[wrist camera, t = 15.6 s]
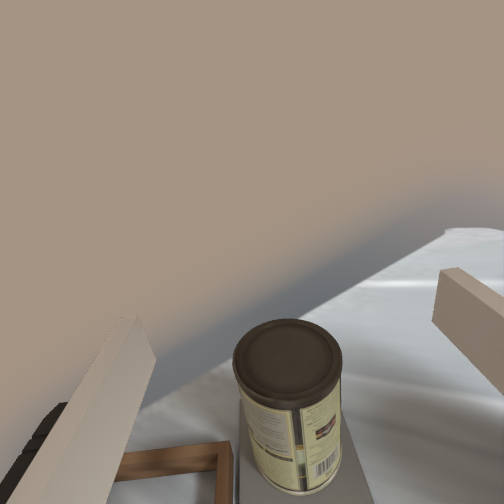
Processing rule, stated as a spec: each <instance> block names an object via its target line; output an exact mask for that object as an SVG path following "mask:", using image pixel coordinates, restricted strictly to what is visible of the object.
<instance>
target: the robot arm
mask: <svg viewBox="0 0 504 504" xmlns="http://www.w3.org/2000/svg"><path fill="white" fill-rule="evenodd" d="M432 322H433V323H434V324H435V325H436V326H437V327H438V328H439V329H440V330H441V331H442V332H443V333H444V334H445V336H446V337H447V338H448V339H449V340H450V341H451V342H452V343H453V344H454V345H455V346H456V347H457V348H458V349H459V350H460V351H461V352H462V353H463V354H464V355H465V356H466V357H467V358H468V359H469V360H470V361H471V363H472V364H473V365H474V366H475V367H476V368H477V369H478V370H479V371H480V372H481V373H482V374H483V375H484V376H485V377H486V378H487V379H488V380H489V381H490V382H491V383H492V384H493V385H494V386H495V387H496V388H497V389H498V391H499V392H500V393H501V394H502V395H503V396H504V297H502V296H501V295H499V294H498V293H496V292H495V291H493V290H492V289H490V288H489V287H487V286H486V285H484V284H483V283H481V282H480V281H478V280H477V279H475V278H474V277H472V276H471V275H469V274H468V273H466V272H465V271H463V270H462V269H460V268H459V267H458V268H451V269H444V270H440V274H439V280H438V286H437V292H436V298H435V304H434V311H433V317H432ZM155 363H156V358H155V356H154V353H153V351H152V349H151V346H150V344H149V341H148V339H147V336H146V334H145V331H144V329H143V327H142V324H141V322H140V319H139V317H138V315H135V316H127V317H121V318H120V319H119V321H118V323H117V324H116V326H115V327H114V329H113V331H112V333H111V334H110V336H109V337H108V339H107V340H106V342H105V344H104V346H103V347H102V349H101V350H100V352H99V353H98V355H97V357H96V358H95V360H94V362H93V363H92V365H91V367H90V368H89V370H88V371H87V373H86V375H85V376H84V378H83V380H82V381H81V383H80V384H79V386H78V388H77V389H76V391H75V392H74V394H73V396H72V397H71V399H70V401H69V402H64V403H59V404H58V405H57V406H56V407H55V408H54V409H53V410H52V411H51V412H50V413H49V414H48V415H47V416H46V417H45V418H44V419H43V420H42V422H41V423H40V425H39V426H38V428H37V429H36V431H35V432H34V434H33V435H32V439H31V440H29V441H28V443H27V445H26V446H25V447H24V449H23V450H22V454H21V455H19V456H18V458H17V459H16V461H15V462H14V464H13V466H12V467H11V468H10V470H9V471H8V473H7V474H6V476H5V478H4V479H3V480H2V482H1V484H0V504H106V502H107V499H108V496H109V493H110V490H111V488H112V485H113V482H114V479H115V476H116V473H117V471H118V468H119V465H120V462H121V459H122V457H123V454H124V451H125V448H126V445H127V442H128V440H129V437H130V434H131V431H132V428H133V425H134V423H135V420H136V417H137V414H138V411H139V408H140V406H141V402H142V400H143V397H144V394H145V391H146V389H147V386H148V383H149V380H150V377H151V374H152V371H153V369H154V366H155Z"/></svg>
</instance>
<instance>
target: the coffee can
mask: <svg viewBox="0 0 504 504" xmlns="http://www.w3.org/2000/svg"><path fill="white" fill-rule="evenodd" d="M232 366H233V371H234V374H235V377H236V380H237V382H238V386H239V391H240V395H241V399H242V404H243V408H244V412H245V416H246V421H247V425H248V430H249V434H250V438H251V443H252V447H253V454H254V459H255V462H256V465H257V467H258V469H259V471H260V472H261V474H262V475H263V477H264V478H265V479H266V480H267V481H268V482H269V483H270V484H271V485H272V486H273V487H275V488H277V489H278V490H279V491H281V492H285V493H287V494H291V495H296V496H305V495H310V494H314V493H316V492H319V491H320V490H322V489H323V488H325V487H326V486H327V485H328V484H329V483H330V482H331V481H332V480H333V478H334V477H335V475H336V474H337V472H338V469H339V466H340V463H341V458H342V446H341V371H342V352H341V349H340V347H339V345H338V343H337V342H336V340H335V339H334V338H333V336H332V335H331V334H330V333H328V332H327V331H326V330H325V329H323V328H322V327H320V326H318V325H316V324H314V323H311V322H308V321H304V320H299V319H278V320H272V321H269V322H266V323H263V324H261V325H258V326H256V327H255V328H253V329H251V330H250V331H249V332H247V333H246V334H245V335H244V336H243V337H242V338H241V340H240V341H239V343H238V344H237V346H236V348H235V350H234V353H233V361H232Z"/></svg>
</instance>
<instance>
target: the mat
mask: <svg viewBox="0 0 504 504" xmlns="http://www.w3.org/2000/svg"><path fill="white" fill-rule="evenodd" d="M341 446H342V458H341V463H340V466H339V469H338V472H337V474H336V475H335V477H334V478H333V480H332V481H331V482H330V483H329V484H328V485H327V486H326V487H325V488H323V489H322V490H320V491H319V492H316V493H314V494H310V495H305V496H296V495H291V494H287V493H285V492H281V491H279V490H278V489H277V488H275V487H273V486H272V485H271V484H270V483H269V482H268V481H267V480H266V479H265V478H264V477H263V475H262V474H261V472H260V471H259V469H258V467H257V465H256V462H255V459H254V454H253V447H252V443H251V438H250V434H249V430H248V425H247V421H246V416H245V412H244V408H243V404H242V399H240V495H239V504H374V501H373V499H372V496H371V493H370V490H369V487H368V484H367V482H366V479H365V476H364V473H363V470H362V467H361V465H360V462H359V459H358V456H357V453H356V450H355V448H354V445H353V442H352V439H351V436H350V433H349V431H348V428H347V425H346V422H345V419H344V416H343V414H342V411H341Z"/></svg>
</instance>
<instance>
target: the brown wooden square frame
mask: <svg viewBox="0 0 504 504" xmlns="http://www.w3.org/2000/svg"><path fill="white" fill-rule="evenodd" d="M233 464H234V455H233V452H232V448H231V445H230V441H221V442H213V443H205V444H197V445H188V446H180V447H172V448H164V449H155V450H147V451H139V452H131V453H124V454H123V457H122V459H121V462H120V465H119V468H118V471H117V473H116V476H115V479H114V482H118V481H127V480H135V479H143V478H152V477H160V476H168V475H177V474H185V473H194V472H202V471H210V470H217V476H216V490H215V504H233Z"/></svg>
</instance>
